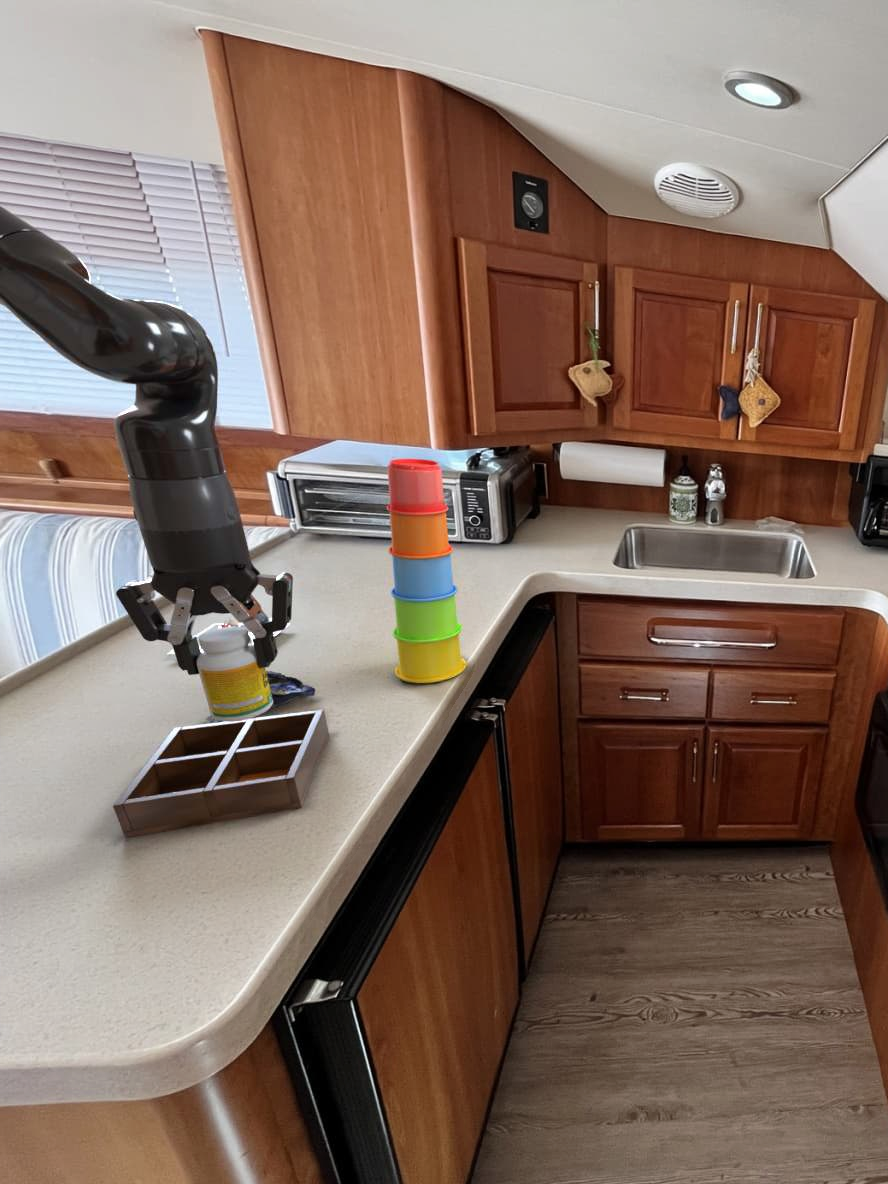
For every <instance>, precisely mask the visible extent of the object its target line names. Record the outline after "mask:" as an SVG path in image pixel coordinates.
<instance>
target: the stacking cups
mask: <svg viewBox="0 0 888 1184" xmlns="http://www.w3.org/2000/svg"><path fill="white" fill-rule="evenodd" d="M386 467H387V479H388V481H387V482H388V493H389V504H388V505H387V506H386V510H387V511H388V512H389V522H390V535H391V536H390V537H391V546H390V547H389V548H388V551H387V552H388V554H389V555H391V559H392V572H393V573H392V574H393V583H394V584H393V585H394V587H392V589H391V590H390V595H391V597H392V598H393V600H394V610H395V611H394V612H395V618H396V619H395V623H396V627H395V628H394V629H393V630H392V636H393V637H394V638H395V639H396V645H397V654H398V655H397V656H398V665H397V667H396V668H395V670H394V673H395V677H397V678H398V679H399V680H401V681H403V682H406V683H411V684H412V683H413V684H431V683H438V682H442V681H447V680H449V679H452V678H454V677H456V676H458V675H461V673H463V672H464V671H465V669H466V668H467V661H466V660H465V659H464V658H463V657H462V654H461V645H460V643H461V642H460V634H461V632H462V630H463V625H462V624H461V622H459V621H458V615H457V608H456V607H457V606H456V594H457V592H458V587H457V586H456V585H455V584H454V579H453V568H452V556H451V554H452V553H454V547H453V546H452V545H450V544H449V532H448V531H449V530H448V521H447V512H448V510H449V507H448V506H447V505H446V504H445V497H444V496H445V495H444V487H443V486H444V484H443V473H442V471H443V470H442V467H441V466H439V462H437V461H435V460H431V459H422V458H396V459H395V458H394V459H391V460H390V461H389V464H388V465H387V466H386Z"/></svg>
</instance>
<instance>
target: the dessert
mask: <svg viewBox="0 0 888 1184" xmlns="http://www.w3.org/2000/svg"><path fill="white" fill-rule="evenodd" d="M291 625H292V622H291V623H290V622H289V623H288V624H287V626H286V627H285V629H288V627H289V626H291ZM231 626H238V627H244V628H246V629H247V627H246V626H245V625H244V624H243V623H240V622H238V621H237V620H236V619H235V618H234V617H233V618H232V617H229V619H228V621H227V619H225V621H224V623H213V624H211V625H210V626H208V627H207V628H205V629H204V630H202V631H200V632H198V633H197V634H195V636H196V637H197V641H198V644H199V648H200V643H199V636H200V635H201V634H203V633H205V632H207V631H210V630H213V629H217V628H222V627H231ZM247 630H248V629H247ZM283 631H284V630H282V631H275V632H273V634H274V638H275V637H277V635H279V634H280V633H281V632H283ZM248 633H249V636H250V641H249V643H250V644H253V641H252V639H253V637H254V635H253V634H252V633H251V632H250V631H249V630H248ZM200 651H201V653H203V652H204V651H203V650H202V649H201V648H200ZM166 654H167V655H169V656H170V655H172V656H176V655H175V652H174V649H172V650H170V651H168V652H167V653H166Z"/></svg>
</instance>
